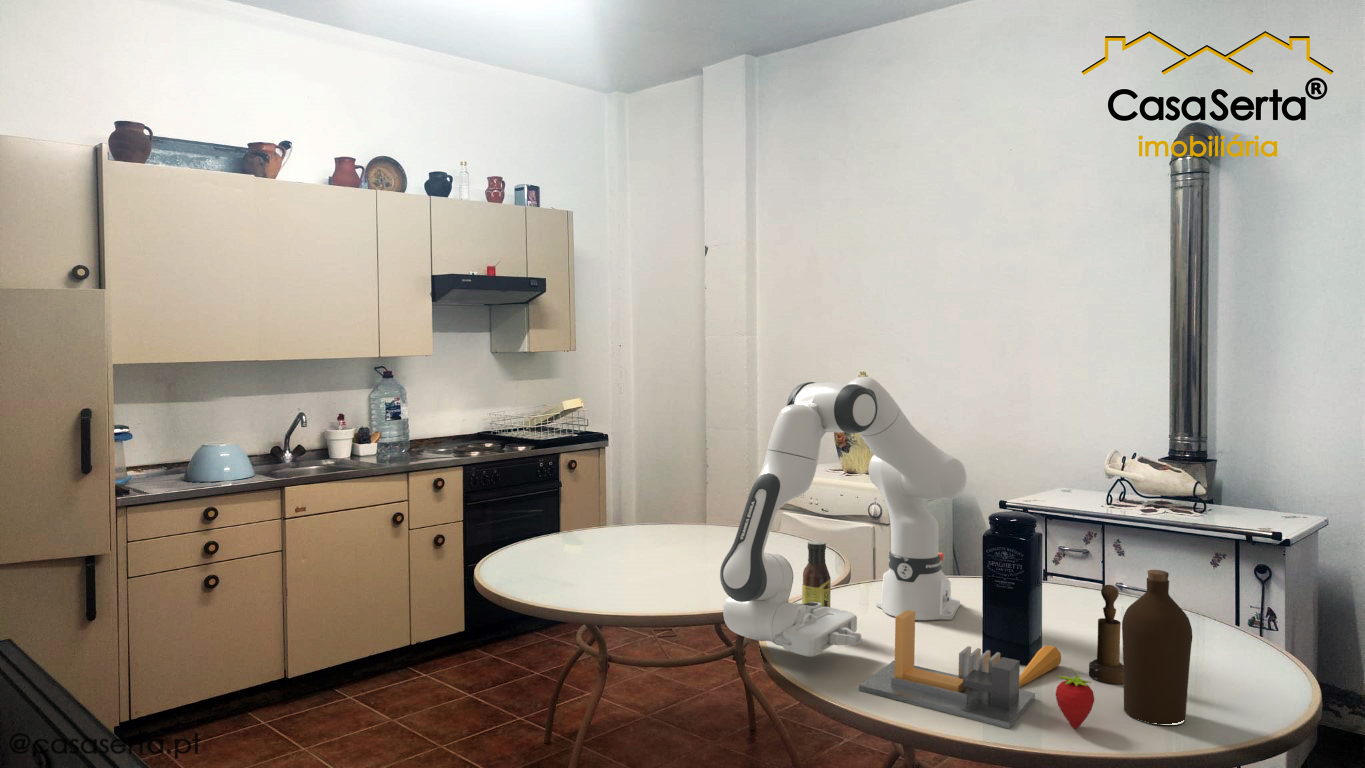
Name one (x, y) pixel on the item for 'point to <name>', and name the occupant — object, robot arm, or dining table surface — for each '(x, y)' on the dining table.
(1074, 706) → the strawberry
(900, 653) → the orange l-shaped block
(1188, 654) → the olive oil
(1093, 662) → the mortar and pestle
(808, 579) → the sauce bottle
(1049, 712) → the dining table surface
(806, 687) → the dining table surface
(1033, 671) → the carrot
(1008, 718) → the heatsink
